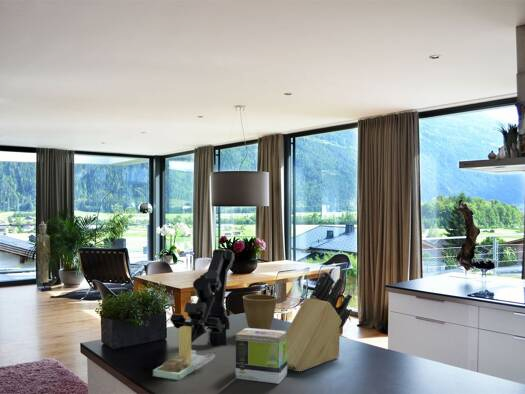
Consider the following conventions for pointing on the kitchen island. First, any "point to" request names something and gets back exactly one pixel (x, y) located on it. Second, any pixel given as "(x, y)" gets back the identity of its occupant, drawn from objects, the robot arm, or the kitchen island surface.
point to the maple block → (183, 361)
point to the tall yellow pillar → (185, 343)
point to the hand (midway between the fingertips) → (187, 344)
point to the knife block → (317, 326)
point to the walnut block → (172, 366)
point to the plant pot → (259, 310)
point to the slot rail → (200, 359)
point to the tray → (172, 373)
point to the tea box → (261, 355)
